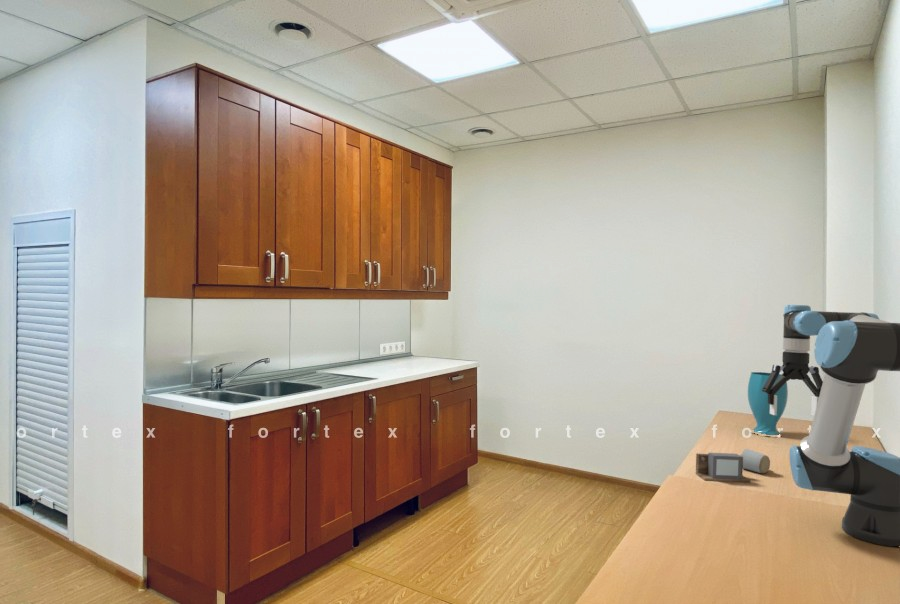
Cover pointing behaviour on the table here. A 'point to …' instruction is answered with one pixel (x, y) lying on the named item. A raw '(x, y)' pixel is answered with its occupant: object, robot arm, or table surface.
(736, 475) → the grey box
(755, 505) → the table surface
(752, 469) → the ceramic mug
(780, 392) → the vase
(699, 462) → the wall rail
